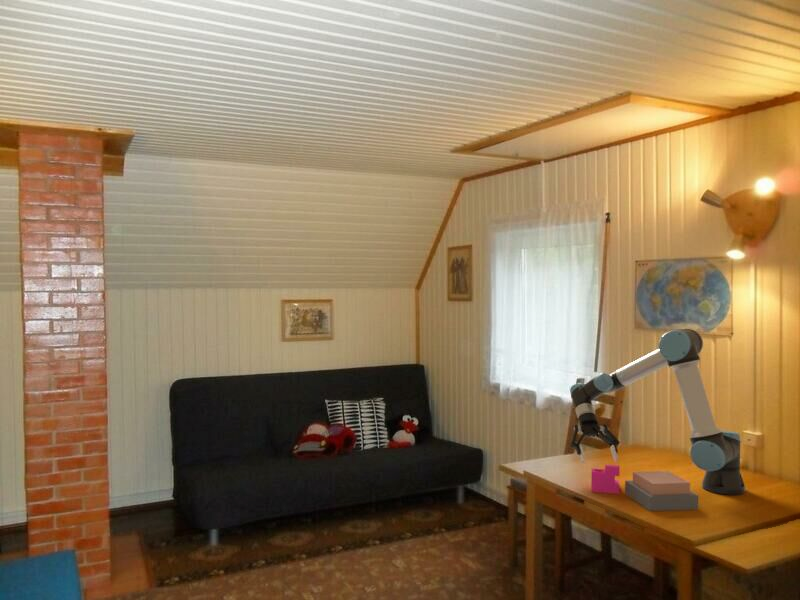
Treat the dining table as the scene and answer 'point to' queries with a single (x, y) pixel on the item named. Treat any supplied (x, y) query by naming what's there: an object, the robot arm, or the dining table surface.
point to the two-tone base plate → (661, 491)
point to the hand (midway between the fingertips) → (600, 461)
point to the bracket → (605, 479)
